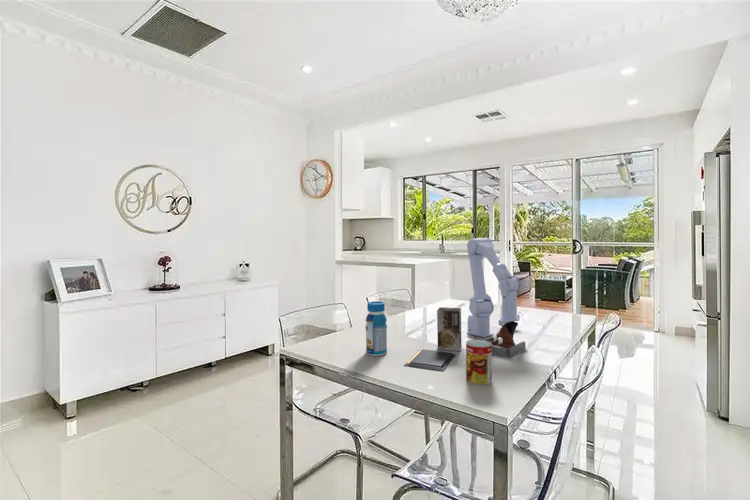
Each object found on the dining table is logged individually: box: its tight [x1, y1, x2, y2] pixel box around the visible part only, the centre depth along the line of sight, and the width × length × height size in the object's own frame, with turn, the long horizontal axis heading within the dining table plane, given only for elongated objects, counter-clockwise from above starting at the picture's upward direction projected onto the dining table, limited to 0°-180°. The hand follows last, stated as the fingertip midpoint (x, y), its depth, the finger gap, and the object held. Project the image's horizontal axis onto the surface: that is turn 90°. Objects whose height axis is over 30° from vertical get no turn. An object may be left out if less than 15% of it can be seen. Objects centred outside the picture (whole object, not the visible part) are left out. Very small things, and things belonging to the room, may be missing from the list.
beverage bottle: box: [365, 300, 388, 357], centre depth 150 cm, size 8×8×20 cm
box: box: [482, 335, 526, 359], centre depth 153 cm, size 14×14×3 cm
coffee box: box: [436, 306, 463, 352], centre depth 155 cm, size 9×6×16 cm
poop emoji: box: [492, 326, 516, 349], centre depth 154 cm, size 10×8×9 cm
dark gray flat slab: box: [403, 349, 456, 372], centre depth 141 cm, size 20×2×15 cm
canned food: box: [465, 339, 493, 386], centre depth 121 cm, size 8×8×12 cm
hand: (509, 339), depth 158 cm, fingers closed
